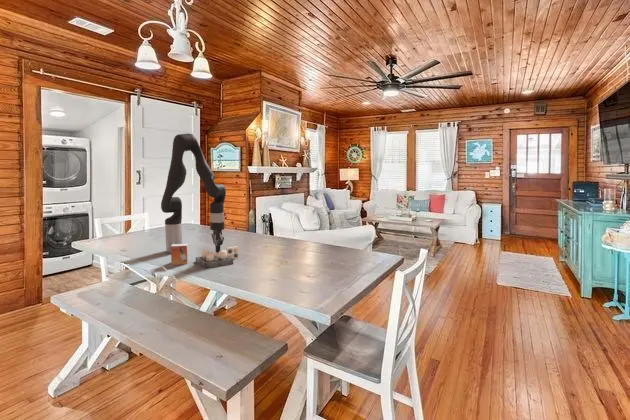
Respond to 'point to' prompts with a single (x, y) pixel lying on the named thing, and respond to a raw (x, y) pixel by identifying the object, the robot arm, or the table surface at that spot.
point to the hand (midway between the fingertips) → (218, 252)
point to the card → (233, 252)
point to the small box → (179, 254)
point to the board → (215, 263)
